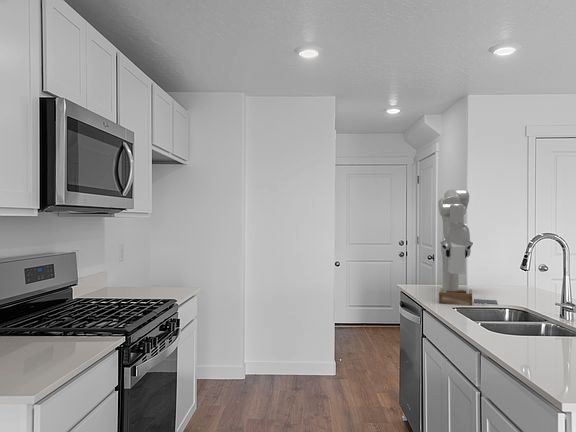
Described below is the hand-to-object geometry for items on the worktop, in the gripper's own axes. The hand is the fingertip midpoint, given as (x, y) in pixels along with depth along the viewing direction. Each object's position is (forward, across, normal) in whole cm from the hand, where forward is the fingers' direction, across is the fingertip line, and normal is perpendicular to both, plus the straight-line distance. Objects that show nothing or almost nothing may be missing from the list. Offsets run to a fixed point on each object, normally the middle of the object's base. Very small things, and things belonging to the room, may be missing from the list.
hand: (456, 257), depth 278 cm
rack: (+25, 0, -2) cm, 25 cm away
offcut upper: (+22, 0, -7) cm, 24 cm away
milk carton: (+9, 0, 0) cm, 9 cm away
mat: (+25, -15, -7) cm, 30 cm away
